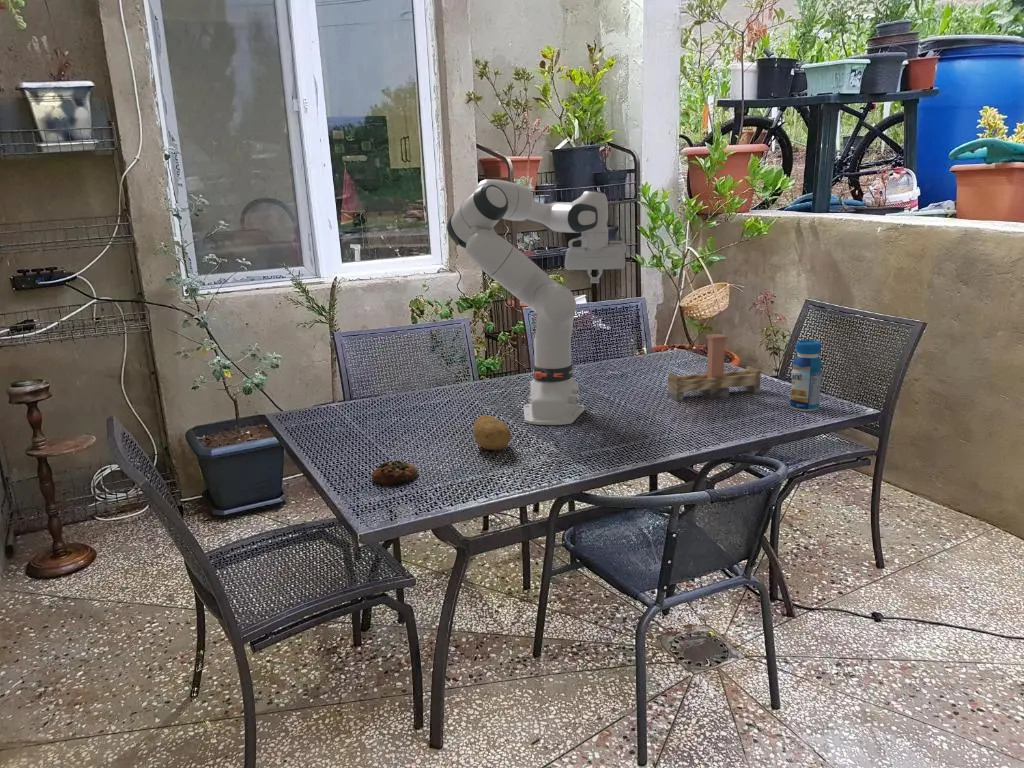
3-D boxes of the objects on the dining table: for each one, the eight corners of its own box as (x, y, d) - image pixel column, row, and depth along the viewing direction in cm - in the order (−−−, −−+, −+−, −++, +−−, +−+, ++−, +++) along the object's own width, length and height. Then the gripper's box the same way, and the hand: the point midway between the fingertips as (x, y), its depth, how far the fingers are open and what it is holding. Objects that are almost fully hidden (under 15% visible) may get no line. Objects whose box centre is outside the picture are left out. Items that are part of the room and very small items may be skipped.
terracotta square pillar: (711, 381, 233) (712, 337, 229) (704, 377, 238) (706, 334, 234) (725, 380, 234) (727, 336, 230) (718, 376, 238) (720, 333, 235)
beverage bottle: (822, 412, 216) (827, 345, 210) (792, 412, 217) (796, 345, 212) (815, 403, 224) (820, 338, 218) (786, 403, 225) (790, 338, 220)
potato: (484, 460, 188) (483, 430, 186) (466, 443, 201) (465, 415, 199) (520, 453, 192) (519, 424, 190) (500, 437, 205) (499, 410, 202)
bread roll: (384, 490, 172) (381, 469, 172) (364, 482, 181) (362, 462, 181) (426, 480, 178) (424, 459, 178) (405, 472, 187) (403, 453, 187)
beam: (677, 402, 230) (678, 379, 228) (666, 394, 239) (667, 372, 237) (761, 394, 235) (762, 371, 233) (747, 387, 244) (748, 365, 242)
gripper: (626, 239, 248) (625, 281, 252) (564, 241, 250) (565, 282, 254) (627, 241, 242) (626, 283, 246) (564, 242, 244) (564, 284, 248)
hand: (595, 282), depth 250 cm, fingers closed
